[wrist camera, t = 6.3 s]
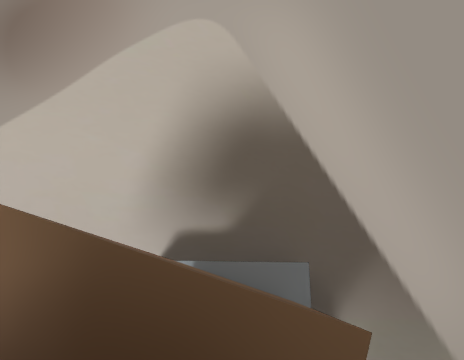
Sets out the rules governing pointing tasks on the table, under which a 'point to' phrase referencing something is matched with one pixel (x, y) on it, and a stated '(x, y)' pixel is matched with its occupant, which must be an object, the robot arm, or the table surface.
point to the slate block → (265, 276)
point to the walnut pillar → (143, 305)
